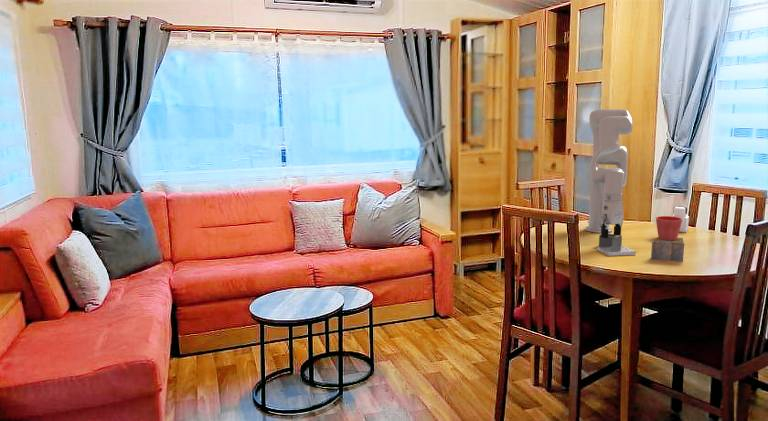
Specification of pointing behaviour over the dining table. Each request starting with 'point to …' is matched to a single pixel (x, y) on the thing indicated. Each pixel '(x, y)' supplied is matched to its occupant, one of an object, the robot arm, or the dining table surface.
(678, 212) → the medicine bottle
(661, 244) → the ruin model on sheet
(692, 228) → the dining table surface
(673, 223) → the flower pot
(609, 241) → the gray rectangular sleeve
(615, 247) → the post
